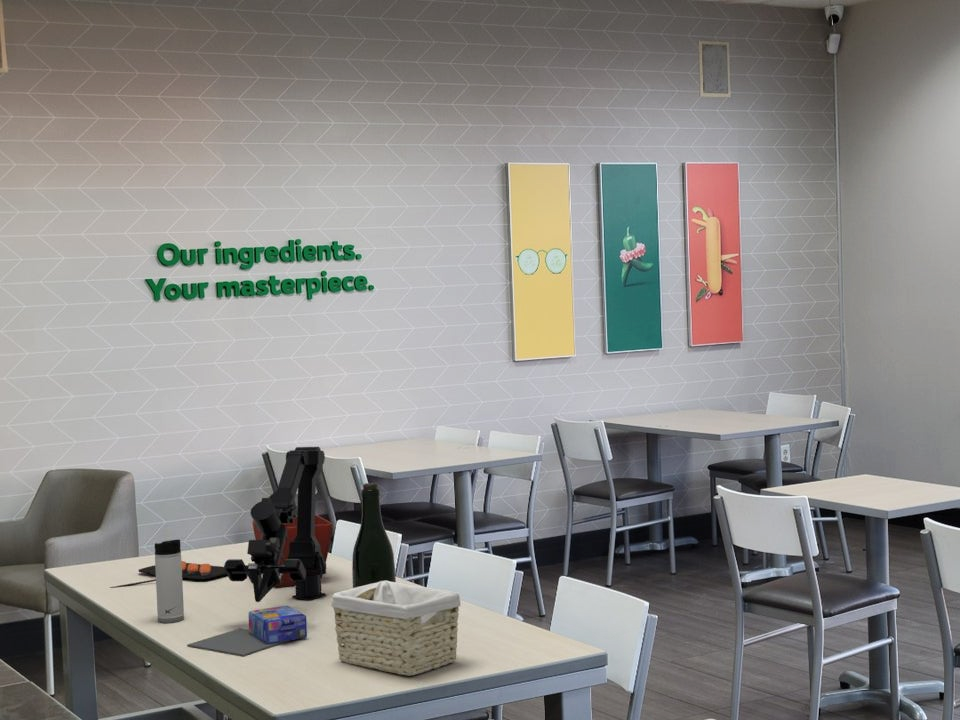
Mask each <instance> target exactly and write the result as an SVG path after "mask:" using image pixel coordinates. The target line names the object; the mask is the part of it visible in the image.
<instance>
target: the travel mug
mask: <svg viewBox="0 0 960 720" xmlns="http://www.w3.org/2000/svg"><path fill="white" fill-rule="evenodd" d="M181 548H182V547H181V539H178V538H177V539H172V540H164V541H161V542H159V543H158V542H155V543H154V565H155V570H156V576H155V579H156V581H155V590H156V604H157V605H156V607H157V609H156V610H157V622H158V623H161V624H171V623H173V624H174V623H178V622H182V621H183V620H184V619H185V612H184V611H185V610H184V609H185V608H184V589H183V588H184V586H183V583H184V582H183V578H182V562H181V561H182V549H181ZM181 620H182V621H181Z"/></svg>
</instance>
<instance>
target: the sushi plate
mask: <svg viewBox="0 0 960 720" xmlns="http://www.w3.org/2000/svg"><path fill="white" fill-rule="evenodd" d="M181 562H182V579H187V578H188V579H189V580H196V579H198V580H199V581H201V580H204V579H206V580H212V579H215V578H219V577H222V576H225V575H227V574H226V572H225V570H224V566H220V565H219V566H218V565H211V564H209V563H201V564H200V563H192V562H191V563H190V562H186V561H184V560H181ZM138 572H139V573H143V574H148V575H153V576H154V577H156V570H155V564H154V565H151V566H150V565H149V566H146V567H142V568H140V569H138ZM218 576H219V577H218ZM188 579H187V580H188ZM204 581H205V580H204ZM152 582H156V578H155V579H150V580H144V581H138V582H132V583H127V584H121V585H116V586H110V587H109V588H110V589H115V588H123V587H124V588H125V587H132V586H137V585H142V584H146V583H152Z"/></svg>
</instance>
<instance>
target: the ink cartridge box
mask: <svg viewBox="0 0 960 720" xmlns="http://www.w3.org/2000/svg"><path fill="white" fill-rule="evenodd" d="M247 617H248V619H247V620H248V630H249V633H250V634H251V635H253V636H255V637H256V638H258V639H260V640H261V641H263V642H265V643H266V644H271V643H276V642H282V641H287V640H291V641H293V640H299V639H304V638H308V629H307V628H308V627H307V626H308V623H307V621H308V620H307V615H306V614H304V613H302V612H300V611H298V610H297V609H295V608H293V607H291V606H290V605H280V606H275V607H269V608H261V609H253V610H250V611H249V612H248V616H247Z"/></svg>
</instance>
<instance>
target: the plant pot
mask: <svg viewBox="0 0 960 720" xmlns="http://www.w3.org/2000/svg"><path fill="white" fill-rule="evenodd" d="M283 525H285V527H286V528H287V535H288V539H285V543H284V547H283V551H282V553H283V559H280V563H279V565H284V564H283V563H284V560H285V559H288V554H289V545H290V542H291V541H293V540H294V539H295V537H296V535H297V517H296V519H294V522H293V523H290V524H283ZM252 528H253V533H254V540H261V536H262V533H261V532H260V531H259V530H258V528H257V526H256V524H255V522H254V520H252ZM332 528H333V523H332V522H330V521H329V520H327V519H325V518H323V517H322V516H320V515H316V514H315V537H316V539H317V541H318V543H319V544H320V547H321V553H322V555H323V557H324V560H325V562H326V563H327V559H328V555H329V550H330V544H331V538H332V531H333V529H332ZM317 569H318V568H317ZM323 575H324V574H322V575H321V579H323ZM280 580H281V583H280V584H277V585H276V586H275V588H276V587H277V588H278V587H288V586H289V587H290V586H291V587H292V586H295V581H292V580H291V579H290V573H286V574H282V576H281V579H280Z"/></svg>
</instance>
